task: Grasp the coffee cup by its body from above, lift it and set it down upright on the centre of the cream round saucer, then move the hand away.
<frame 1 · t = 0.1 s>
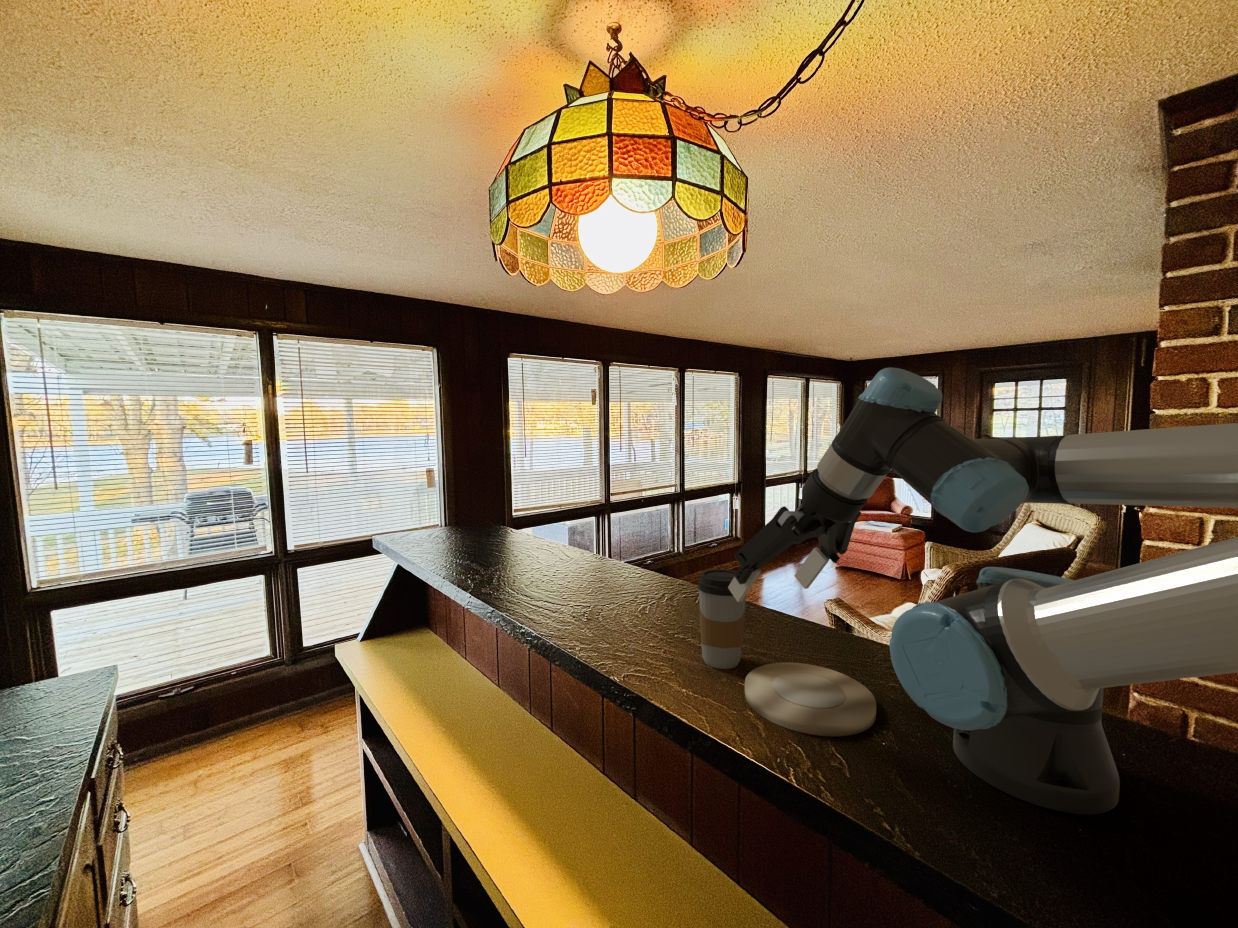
hand: (769, 588, 79), 15 cm above the countertop, tool tilted 35°, fingers open, 13 cm apart
cream round saucer: (807, 699, 76), on the countertop
coffee cup: (720, 662, 88), on the countertop
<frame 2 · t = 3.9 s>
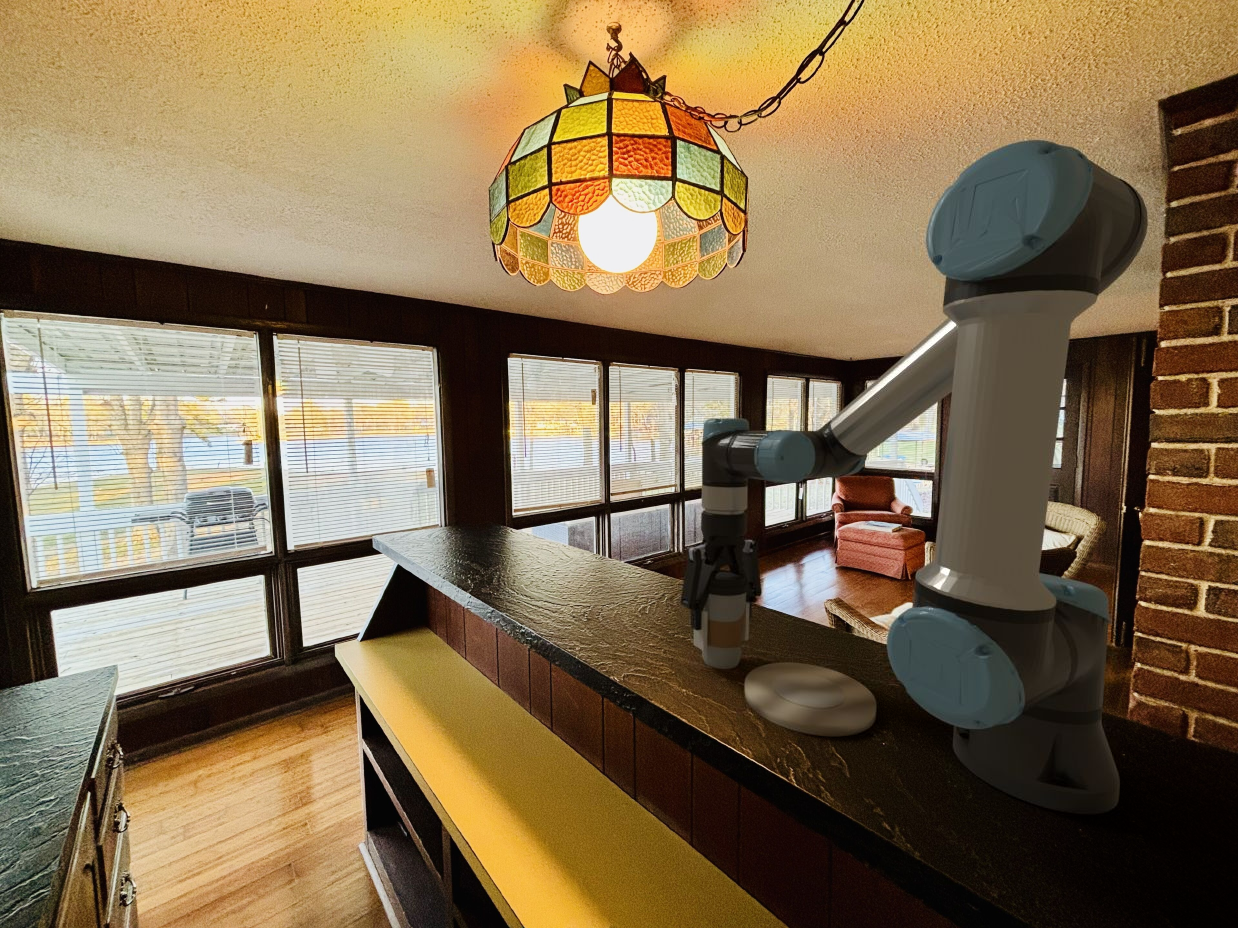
hand: (721, 642, 88), 3 cm above the countertop, tool pointing down, fingers closed on coffee cup, 8 cm apart
coffee cup: (720, 662, 88), on the countertop, touching gripper
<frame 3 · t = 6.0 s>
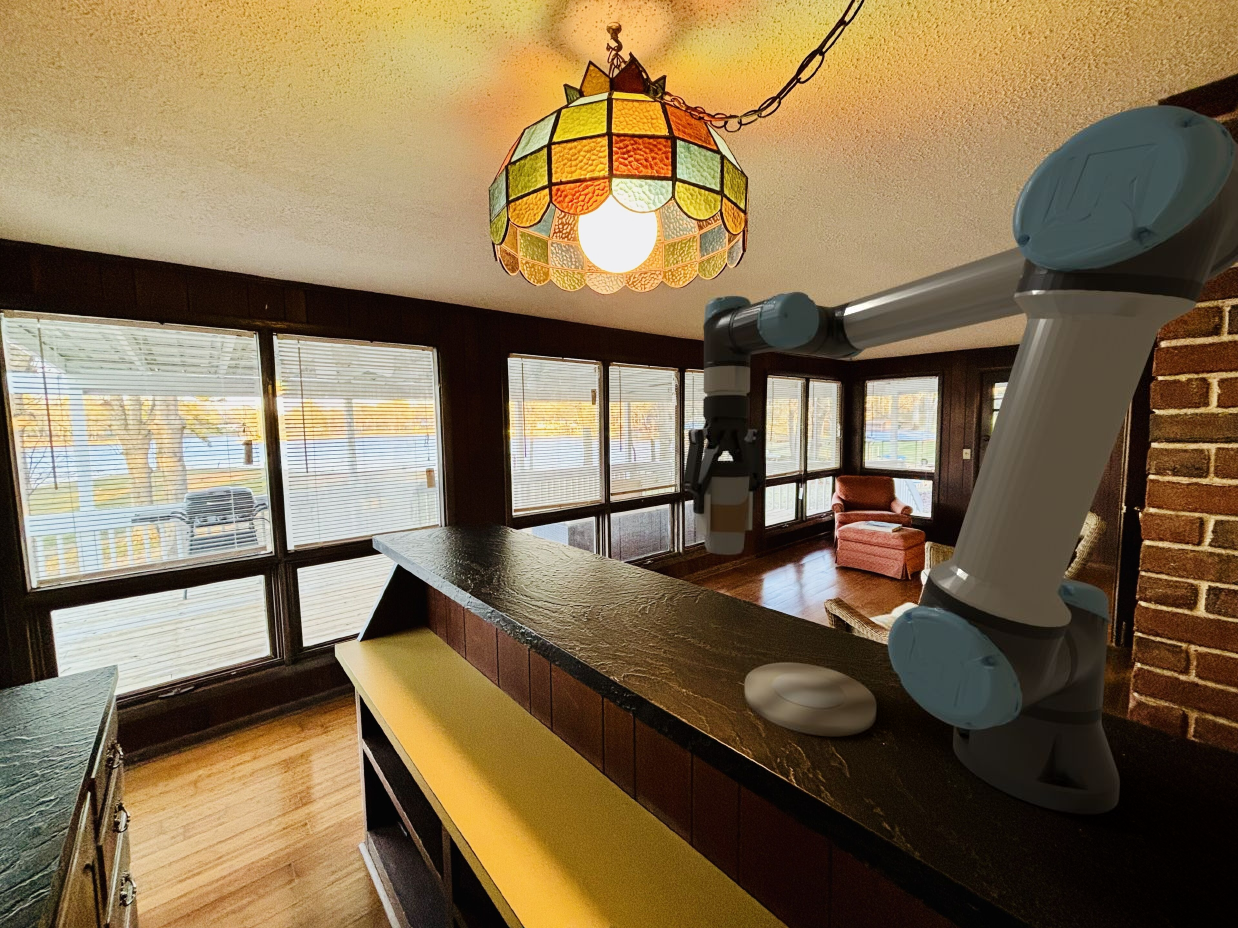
hand: (724, 530, 87), 23 cm above the countertop, tool pointing down, fingers closed on coffee cup, 8 cm apart
coffee cup: (724, 551, 87), point 19 cm above the countertop, touching gripper
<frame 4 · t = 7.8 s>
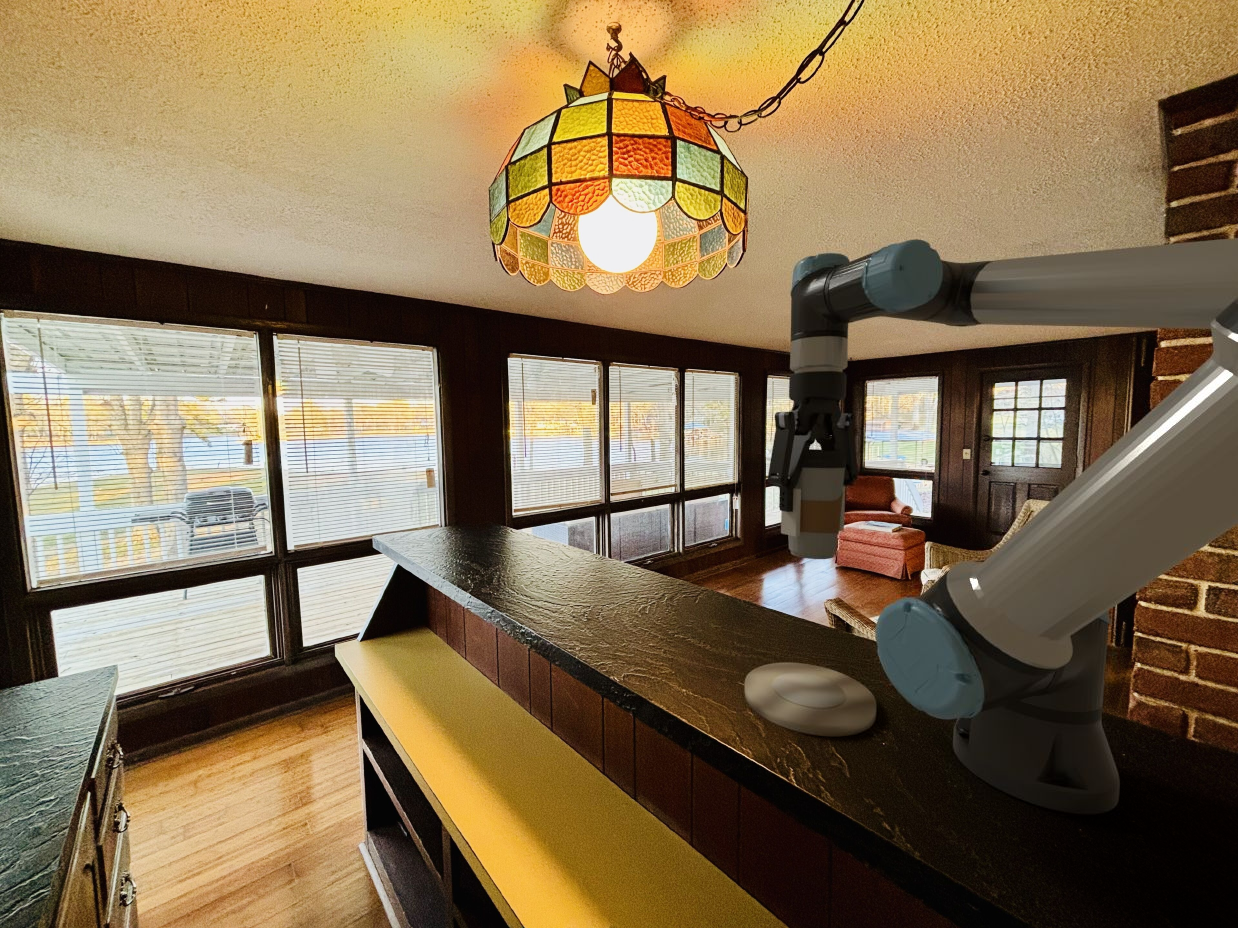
hand: (812, 531, 74), 25 cm above the countertop, tool pointing down, fingers closed on coffee cup, 8 cm apart
coffee cup: (811, 555, 74), point 21 cm above the countertop, touching gripper
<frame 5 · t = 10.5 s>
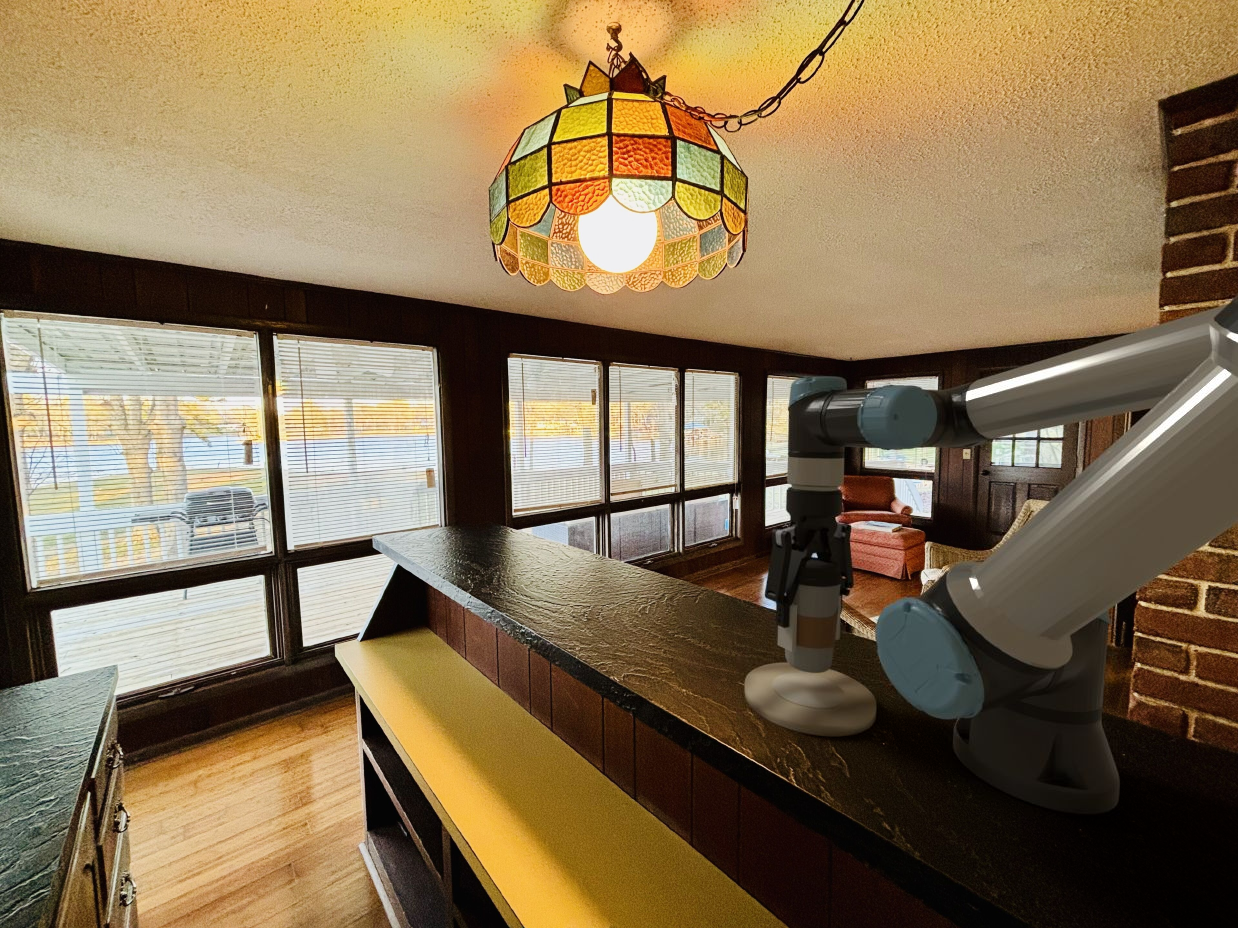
hand: (809, 641, 75), 9 cm above the countertop, tool pointing down, fingers closed on coffee cup, 8 cm apart
coffee cup: (807, 664, 75), point 5 cm above the countertop, touching gripper
when the fingers open (6 cm above the countertop, at t = 12.1 s): coffee cup drops 1 cm, resting on cream round saucer.
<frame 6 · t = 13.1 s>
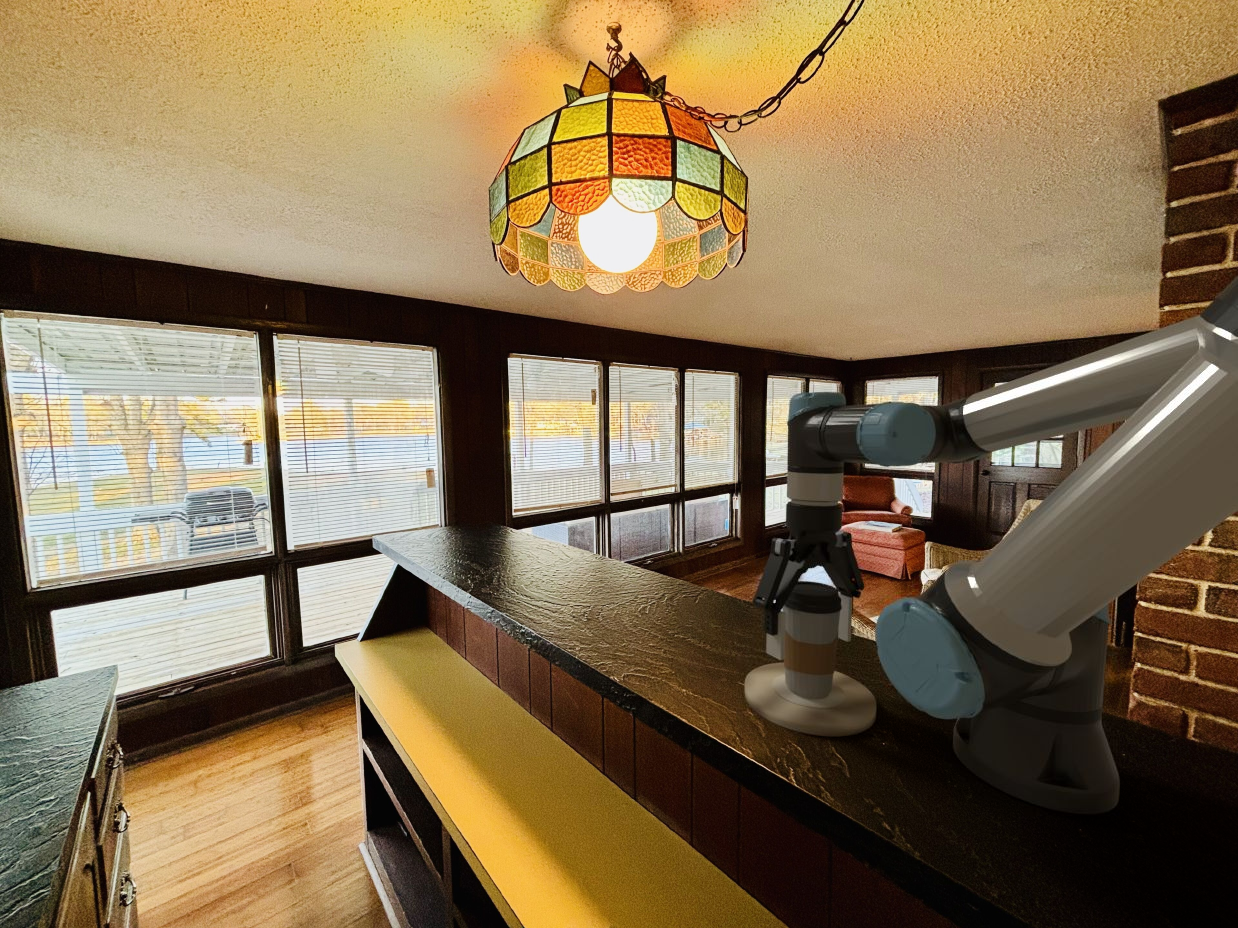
hand: (809, 646, 75), 8 cm above the countertop, tool pointing down, fingers open, 13 cm apart
coffee cup: (807, 690, 76), point 2 cm above the countertop, touching cream round saucer
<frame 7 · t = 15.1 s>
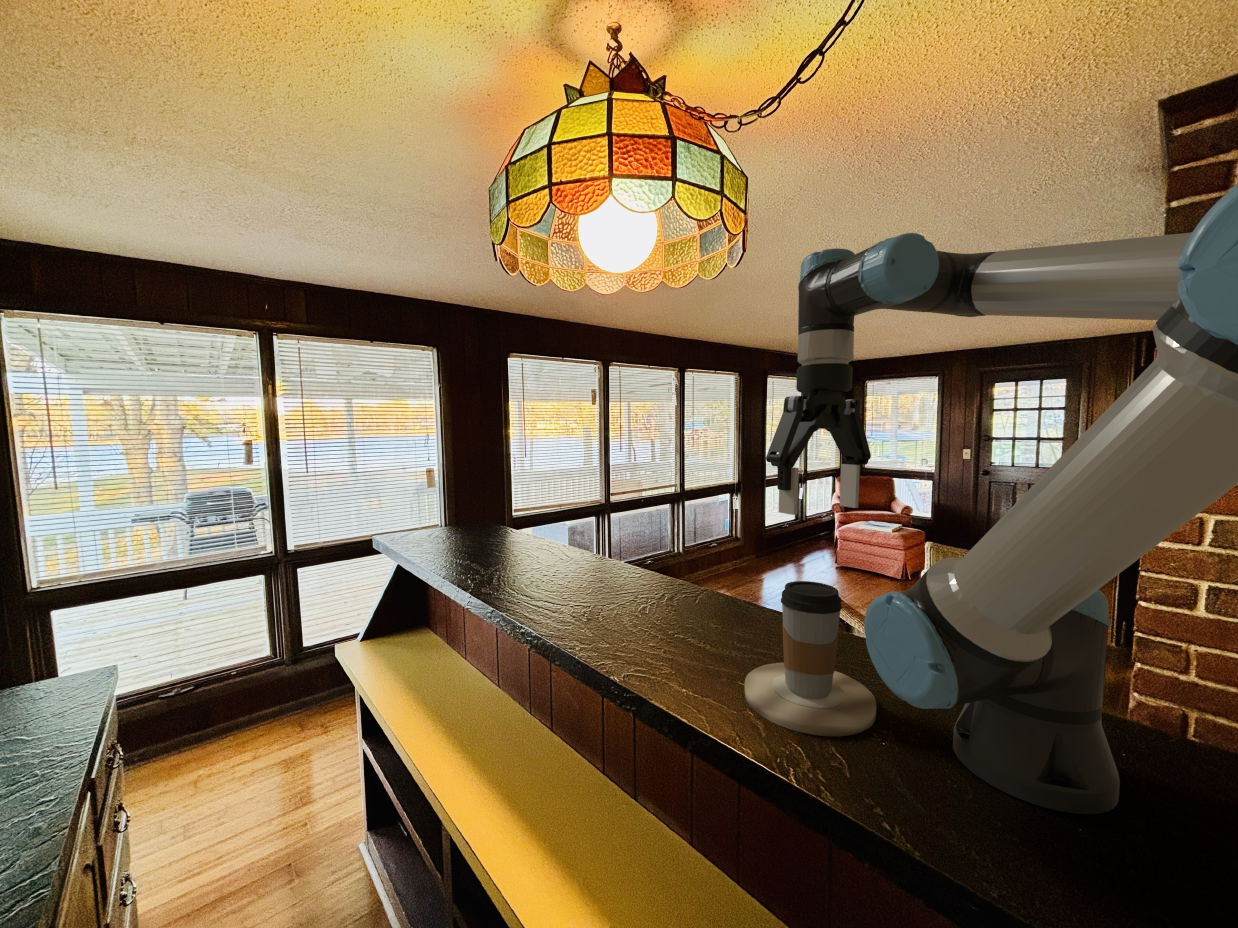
hand: (819, 510, 76), 28 cm above the countertop, tool pointing down, fingers open, 13 cm apart
nothing on the countertop moved.
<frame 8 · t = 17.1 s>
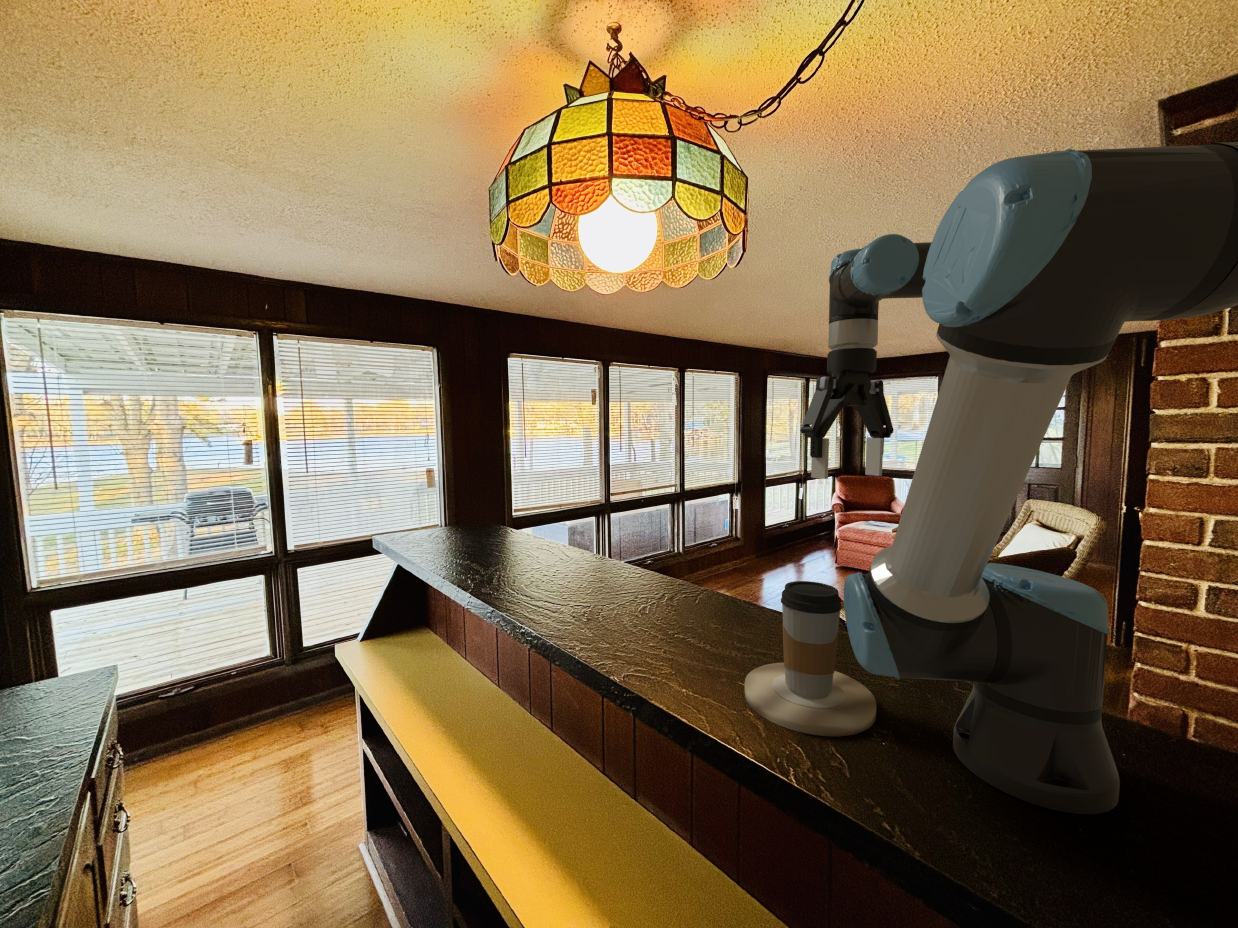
hand: (847, 476, 87), 32 cm above the countertop, tool pointing down, fingers open, 13 cm apart
nothing on the countertop moved.
at the end: coffee cup 0.0 cm from the cream round saucer (horizontally); coffee cup tilted 0°; coffee cup touching cream round saucer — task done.
